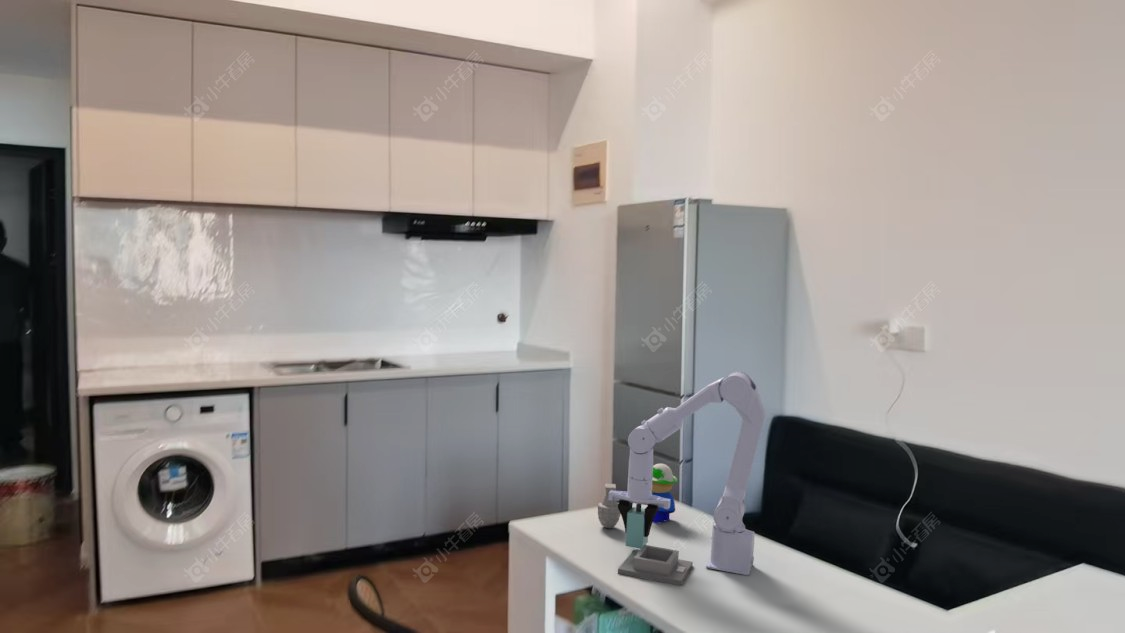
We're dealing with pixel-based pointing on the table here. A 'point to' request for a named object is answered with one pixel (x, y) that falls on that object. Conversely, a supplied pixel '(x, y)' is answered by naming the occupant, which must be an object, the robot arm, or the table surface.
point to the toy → (663, 489)
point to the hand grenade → (608, 509)
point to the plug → (636, 527)
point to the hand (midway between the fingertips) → (637, 534)
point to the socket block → (656, 565)
